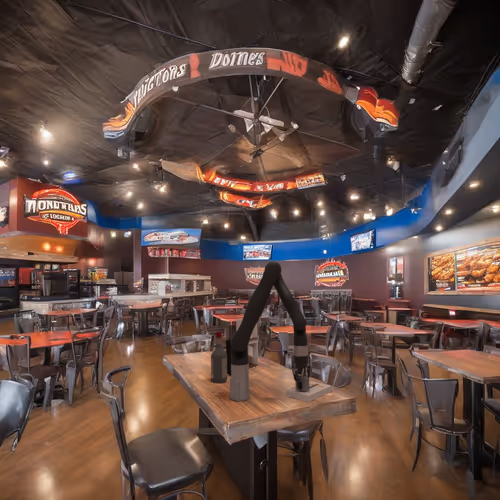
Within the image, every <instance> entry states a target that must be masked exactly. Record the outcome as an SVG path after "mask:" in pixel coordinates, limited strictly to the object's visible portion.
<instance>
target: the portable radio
mask: <svg viewBox="0 0 500 500" xmlns="http://www.w3.org/2000/svg"><path fill="white" fill-rule="evenodd" d="M225 351H226V353H227V374H229V375H228V376H231V336H228V339H226V340H225Z"/></svg>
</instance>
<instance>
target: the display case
mask: <svg viewBox="0 0 500 500" xmlns="http://www.w3.org/2000/svg"><path fill="white" fill-rule="evenodd" d="M242 320H243V318H237V319H236V322H235V323H236V331H237V330H238V328H239V326H240V325H241V322H242ZM258 341H259V338H258V323H257V324H256V326H255V327H254V329H253V332H252V335H251V337H250V340H249V344H248V359H249V369H250V368H253V367H256V366H258V367H259V348H258V347H259V346H258V344H259V342H258Z"/></svg>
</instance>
